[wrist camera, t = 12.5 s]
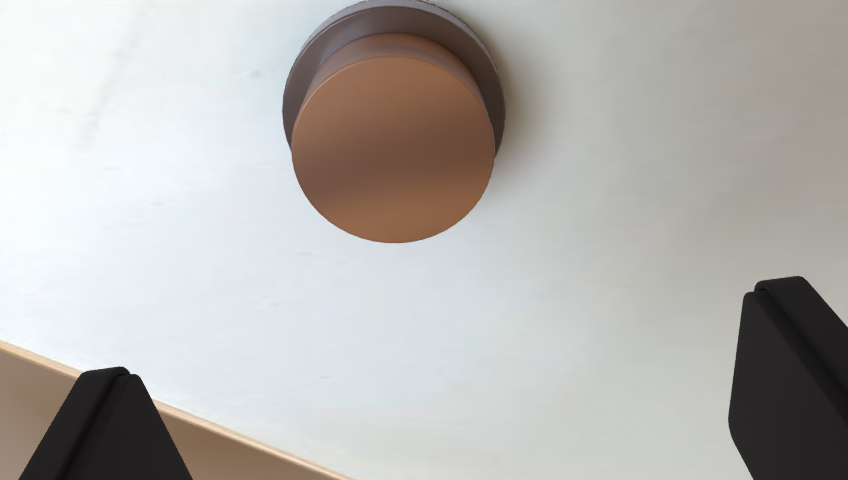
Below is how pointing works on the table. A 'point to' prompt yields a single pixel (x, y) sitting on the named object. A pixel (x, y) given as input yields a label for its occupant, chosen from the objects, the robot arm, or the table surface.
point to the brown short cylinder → (393, 139)
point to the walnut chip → (394, 13)
